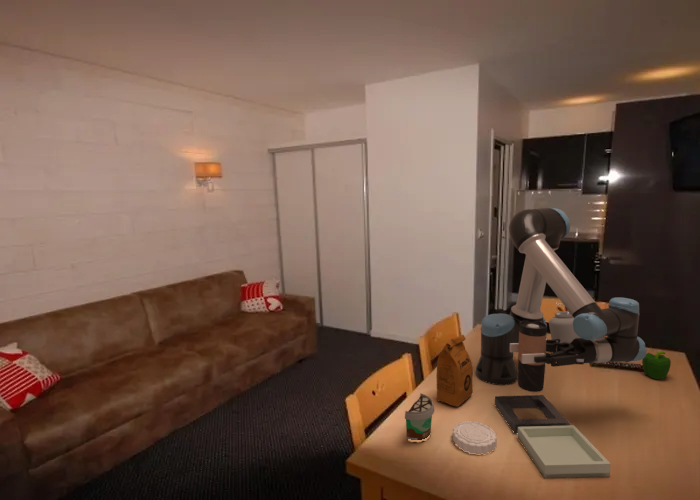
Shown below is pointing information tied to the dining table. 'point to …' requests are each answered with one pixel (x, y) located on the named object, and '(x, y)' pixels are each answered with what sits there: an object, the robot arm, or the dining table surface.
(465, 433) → the mooncake
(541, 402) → the holder frame
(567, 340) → the jar
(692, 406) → the dining table surface
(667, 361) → the bell pepper
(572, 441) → the tray
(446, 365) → the coffee package
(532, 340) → the travel mug
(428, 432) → the food container
